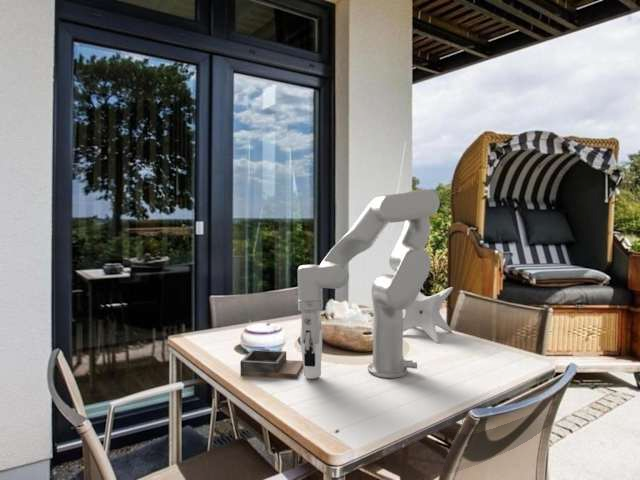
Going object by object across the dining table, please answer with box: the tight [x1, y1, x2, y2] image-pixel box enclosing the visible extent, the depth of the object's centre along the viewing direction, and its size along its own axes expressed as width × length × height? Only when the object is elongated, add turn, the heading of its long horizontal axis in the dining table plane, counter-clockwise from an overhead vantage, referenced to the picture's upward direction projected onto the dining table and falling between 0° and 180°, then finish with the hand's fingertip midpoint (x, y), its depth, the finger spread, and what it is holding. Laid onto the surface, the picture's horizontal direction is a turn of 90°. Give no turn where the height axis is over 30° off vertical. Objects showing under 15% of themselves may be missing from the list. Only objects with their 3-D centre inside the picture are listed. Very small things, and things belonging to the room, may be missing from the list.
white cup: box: [299, 327, 323, 380], centre depth 132 cm, size 7×7×15 cm
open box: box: [240, 349, 303, 380], centre depth 139 cm, size 18×12×4 cm, turn 81°
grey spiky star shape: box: [403, 286, 454, 344], centre depth 182 cm, size 20×20×20 cm
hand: (311, 361), depth 132 cm, fingers closed on white cup, 6 cm apart
